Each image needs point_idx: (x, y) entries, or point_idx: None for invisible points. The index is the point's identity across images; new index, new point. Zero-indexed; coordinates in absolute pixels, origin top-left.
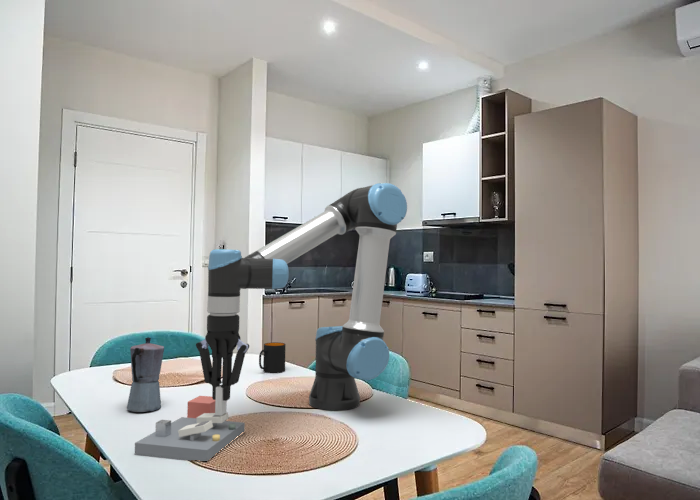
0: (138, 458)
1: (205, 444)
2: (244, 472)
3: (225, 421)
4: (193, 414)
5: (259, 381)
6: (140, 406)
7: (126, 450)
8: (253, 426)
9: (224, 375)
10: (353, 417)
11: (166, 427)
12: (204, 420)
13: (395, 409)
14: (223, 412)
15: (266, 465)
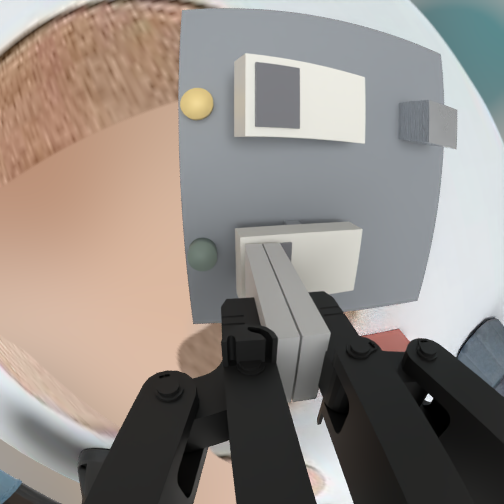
0: (397, 34)
1: (216, 52)
2: (57, 22)
3: None
4: (393, 343)
5: (314, 495)
6: (490, 330)
7: (449, 89)
8: (200, 356)
9: (268, 445)
10: (47, 422)
11: (418, 110)
12: (322, 227)
13: (32, 445)
14: (245, 271)
15: (20, 85)
